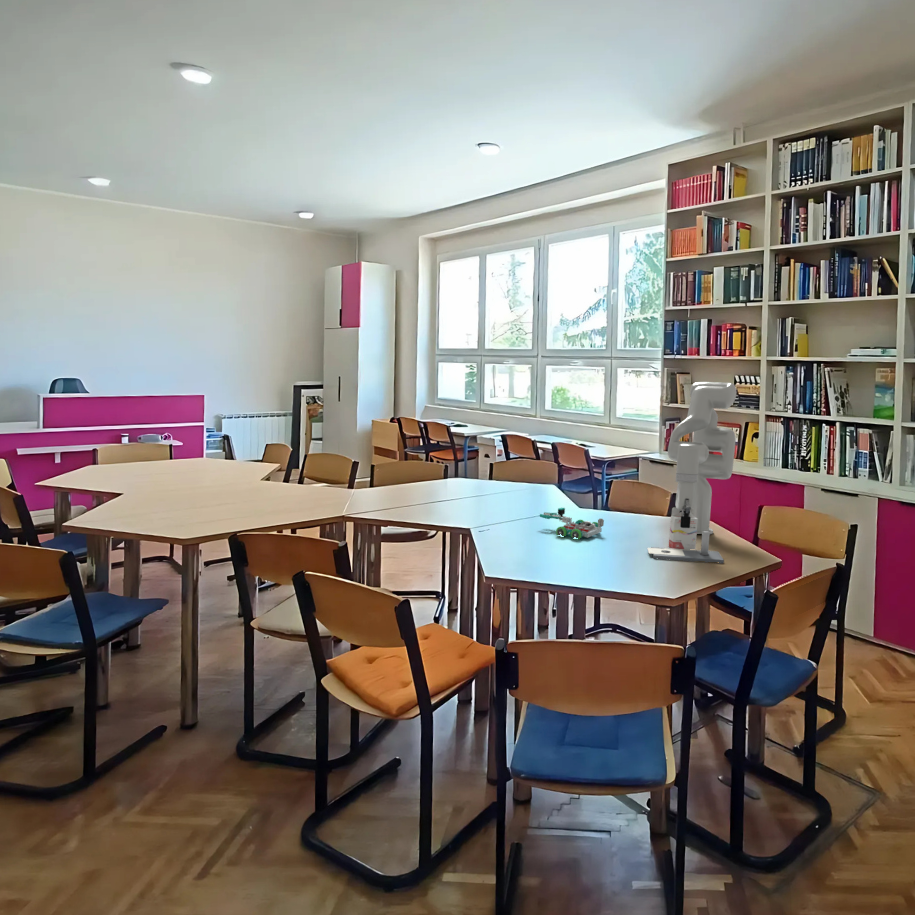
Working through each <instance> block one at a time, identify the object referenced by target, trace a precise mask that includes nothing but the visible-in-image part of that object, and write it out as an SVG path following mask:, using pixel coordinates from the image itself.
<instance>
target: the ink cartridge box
mask: <svg viewBox="0 0 915 915" xmlns="http://www.w3.org/2000/svg"><path fill="white" fill-rule="evenodd" d="M679 511H682V509H680V510H678V509H677V508H676V507H672V508H671V516H670V523H669V524H670V525H669V537H668V548H675V549H695V550H696V544H697V536H698V535H697V523H698V519H697V518H696V517H694V516H693V512H694V508H692V510H691V511H690V517H691V518H690V528H681V527H680V524H681V516H682V512H679Z"/></svg>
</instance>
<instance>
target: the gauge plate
mask: <svg viewBox="0 0 915 915" xmlns="http://www.w3.org/2000/svg"><path fill="white" fill-rule="evenodd" d="M710 535H711V534H710V532H708V531H702V535H701V544H700V546H701V547H700V549H695V550H690V549H675V548H670V547H657V546H651V547H647V548H646V549H647V551H648V554H649V555H651V554H653V555H652V558H653V559H654V558H658V559H657V560H665V559H668V560H669V559H670V560H669V561H679V560H683V562H694V561H705V562H704V563H708V562H719V563H718V564H723V563H725V559H724V557H723V556H722V555H721V554H720V552H719V551H718V550H716V551H715V550H709V544H710ZM668 560H667V561H668Z"/></svg>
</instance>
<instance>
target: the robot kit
mask: <svg viewBox="0 0 915 915" xmlns="http://www.w3.org/2000/svg"><path fill="white" fill-rule="evenodd" d="M565 512H566V508H565V507H559V508H557V513H556V512H545V511H544V512H543V514H542V513H539V517H540V518H542V519H547V520H550V519H555V520H559V521H561V522H562V523H565V524H563V526H558V527H557V528H556V530H555V534H556V536H557V535H560V534H561V535H562V536H565V537H566V536H568V537H571V538H572V537H573V538H574V537H576V538H578V539H579V540H581V539H582V537H585V538H587V539H588V538H590V537H592V536H594V535H598V534H600V533H601V532H602V527H604V524H605V523H604V521H605V520H604V519H603V518H599V519H597V521H592V522H591V521H588V520H583V519H577V520H576V521H573V519H572V517H570V516H565ZM580 538H581V539H580Z"/></svg>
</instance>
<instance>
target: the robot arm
mask: <svg viewBox="0 0 915 915" xmlns="http://www.w3.org/2000/svg"><path fill="white" fill-rule="evenodd" d="M689 391H690V392H689V395H690V401H689V406H688V411H687V416H686V418H685V419H684V420H682V421H680V423H679V424H677V426H676V427H674V429H673V430H672V432H671V434H670V437H669V442H668V447H667V456H668V458H669V460H670V461H673V462H676V469H675V470H676V472H675V482H676V483H677V486H676V495H675V508H677V509H678V510H680V509H682V511H679V512H682V516H681V524H680V527H681V528H690V518H691V517H690V511H691V510H692V508H694V512H693V516H694V517H696V518H697V519H698V523H697V534H702V531H708V532H710V534H709V535H712V534H713V533H714V530H713V529H712V528H711V527H710V521H711V510H712V509H711V506H712V496H713V494H712V492H713V490H712V486H711V485H710V483H709V481H708V480H707V479H714V480H715V479H717V480H729V479H730V478H731V476H732V474H733V469H734V462H735V460H734V459H735V453H736V452H735V451H736V434H735V431H734V430H732V429H731V428H729V427H728V428H727V427H726V428H725V427H718V419H719V415H718V413H717V412H716V410H715V409H717V410H719V409H723V410H726V409H727V410H728V409H729V408H730V407H731V406H732V405H733V404H734V402H735V400H736V398H737V387H736V386H735V384H734V383H732V382H716V381H698V382H694V383H693V384H691V385H690V389H689ZM692 433H693V437H692V438H693V439H692V441H683V440H681V439H682V438H683V437H684V436H686V435H689V434H692ZM710 452H713V453H715V452H717V453H721V454H713V453H710Z"/></svg>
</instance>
